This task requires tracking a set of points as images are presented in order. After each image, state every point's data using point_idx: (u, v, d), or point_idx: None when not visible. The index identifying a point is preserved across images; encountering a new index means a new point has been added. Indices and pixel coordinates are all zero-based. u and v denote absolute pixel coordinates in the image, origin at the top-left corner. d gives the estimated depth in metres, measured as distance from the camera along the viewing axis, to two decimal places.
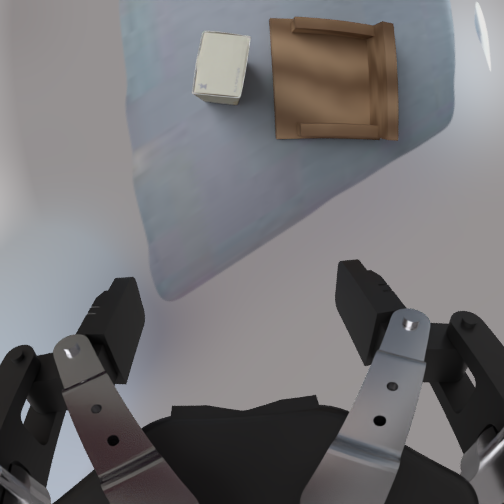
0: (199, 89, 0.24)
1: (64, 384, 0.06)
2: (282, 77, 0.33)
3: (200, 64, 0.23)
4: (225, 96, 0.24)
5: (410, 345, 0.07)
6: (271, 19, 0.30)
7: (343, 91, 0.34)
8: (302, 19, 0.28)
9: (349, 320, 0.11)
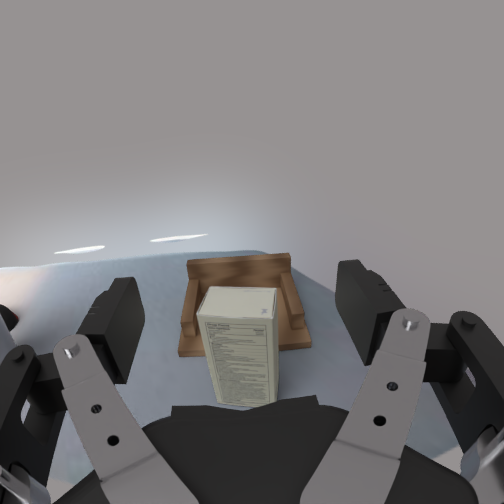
0: (268, 313, 0.23)
1: (64, 384, 0.06)
2: None
3: (237, 314, 0.24)
4: (275, 298, 0.26)
5: (410, 345, 0.07)
6: (179, 350, 0.35)
7: None
8: (184, 317, 0.37)
9: (349, 320, 0.11)
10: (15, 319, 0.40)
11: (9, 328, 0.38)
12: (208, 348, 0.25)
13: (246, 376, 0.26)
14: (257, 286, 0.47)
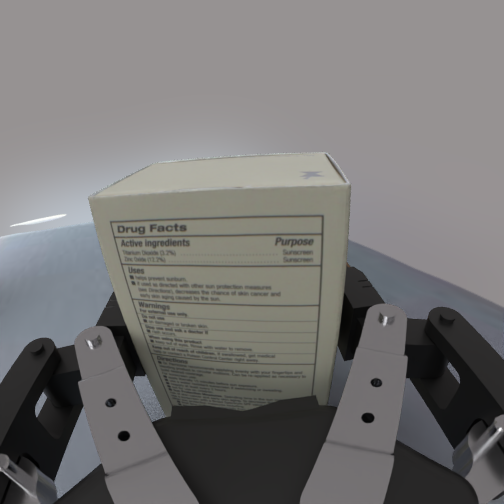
0: (328, 177, 0.06)
1: (82, 374, 0.06)
2: None
3: (215, 184, 0.06)
4: (332, 164, 0.08)
5: (389, 340, 0.07)
6: None
7: None
8: None
9: None
10: None
11: None
12: (134, 321, 0.08)
13: (248, 405, 0.09)
14: None
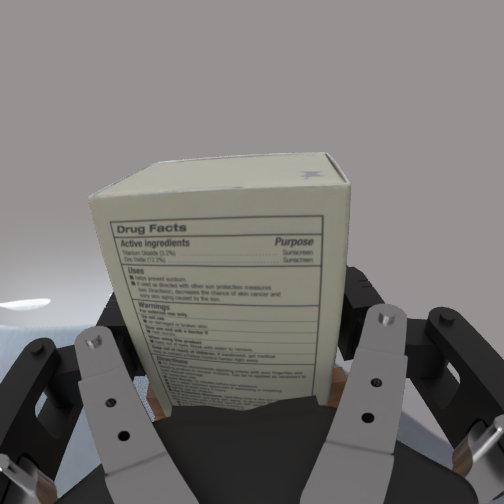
0: (328, 177, 0.06)
1: (82, 375, 0.06)
2: None
3: (215, 183, 0.06)
4: (332, 164, 0.08)
5: (389, 340, 0.07)
6: None
7: None
8: None
9: None
10: None
11: None
12: (133, 321, 0.08)
13: (248, 405, 0.09)
14: None
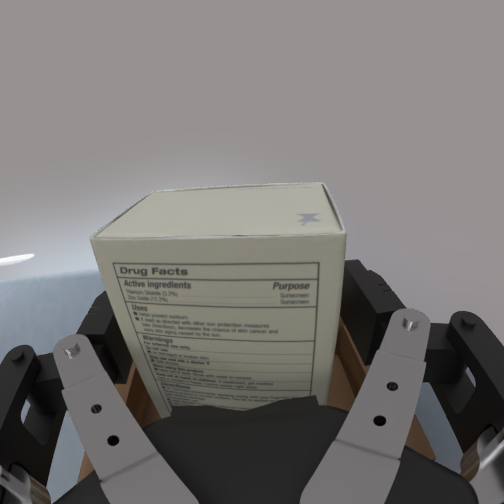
0: (325, 222, 0.07)
1: (64, 384, 0.06)
2: None
3: (214, 229, 0.07)
4: None
5: (410, 345, 0.07)
6: None
7: None
8: (86, 473, 0.09)
9: (349, 320, 0.11)
10: None
11: None
12: (138, 351, 0.08)
13: None
14: None
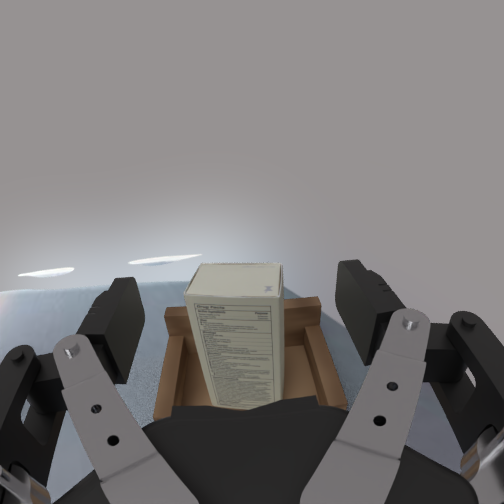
0: (273, 291, 0.19)
1: (64, 383, 0.06)
2: None
3: (234, 293, 0.19)
4: None
5: (410, 345, 0.07)
6: None
7: None
8: (158, 409, 0.21)
9: (349, 320, 0.11)
10: None
11: None
12: (199, 338, 0.21)
13: (246, 373, 0.22)
14: None
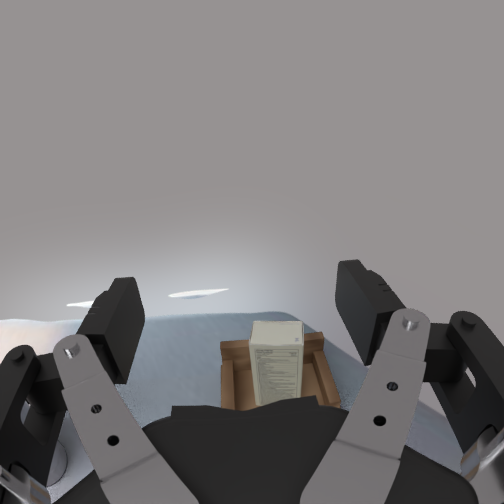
0: (300, 341, 0.33)
1: (64, 384, 0.06)
2: None
3: (278, 343, 0.33)
4: (302, 329, 0.35)
5: (410, 345, 0.07)
6: None
7: None
8: None
9: (349, 320, 0.11)
10: None
11: None
12: (254, 366, 0.35)
13: (280, 384, 0.36)
14: None
